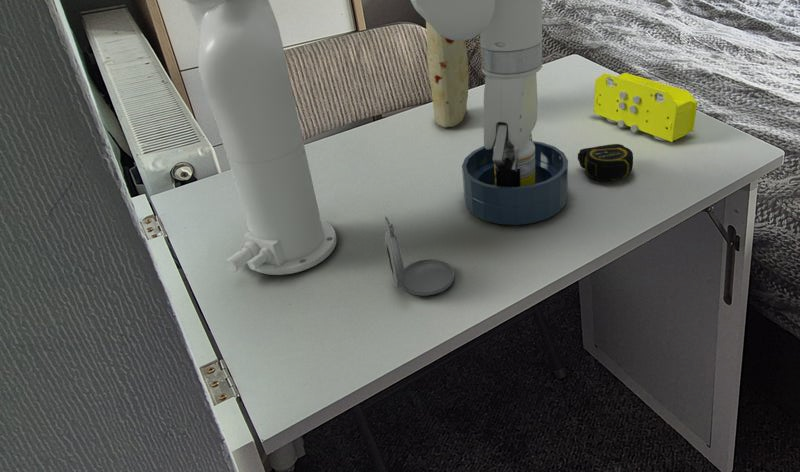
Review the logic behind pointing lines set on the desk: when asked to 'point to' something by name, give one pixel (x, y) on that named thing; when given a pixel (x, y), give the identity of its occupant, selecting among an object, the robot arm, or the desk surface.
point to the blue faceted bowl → (516, 188)
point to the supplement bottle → (524, 163)
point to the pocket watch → (417, 270)
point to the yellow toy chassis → (645, 105)
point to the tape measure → (606, 161)
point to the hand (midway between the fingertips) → (515, 181)
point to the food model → (447, 77)
